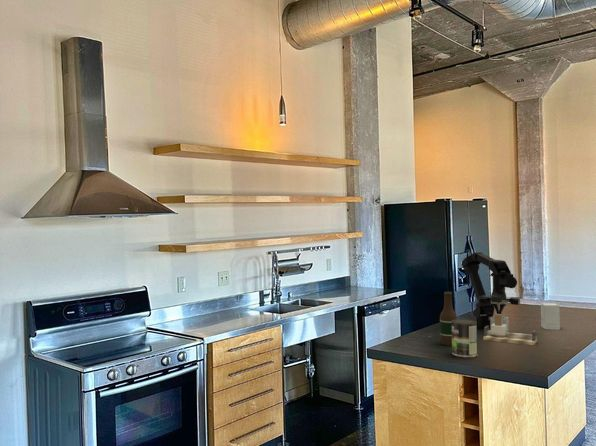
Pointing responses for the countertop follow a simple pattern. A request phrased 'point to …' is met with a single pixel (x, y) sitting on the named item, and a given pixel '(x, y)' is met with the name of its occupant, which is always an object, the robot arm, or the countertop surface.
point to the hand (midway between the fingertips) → (499, 317)
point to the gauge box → (505, 321)
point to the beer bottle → (447, 320)
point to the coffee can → (464, 338)
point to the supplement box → (550, 316)
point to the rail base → (509, 340)
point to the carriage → (498, 325)
